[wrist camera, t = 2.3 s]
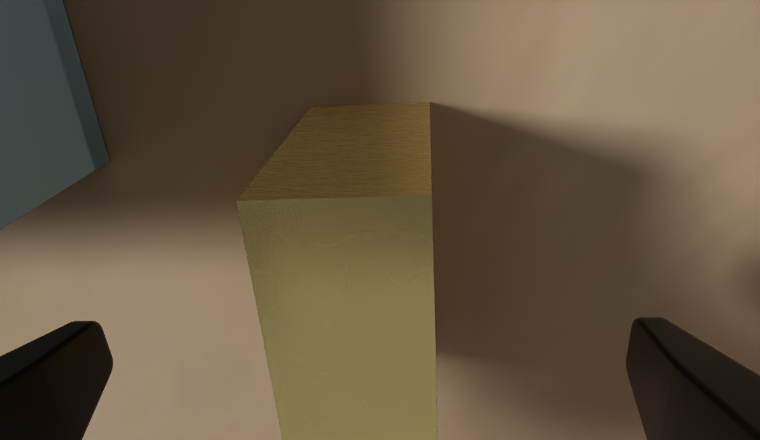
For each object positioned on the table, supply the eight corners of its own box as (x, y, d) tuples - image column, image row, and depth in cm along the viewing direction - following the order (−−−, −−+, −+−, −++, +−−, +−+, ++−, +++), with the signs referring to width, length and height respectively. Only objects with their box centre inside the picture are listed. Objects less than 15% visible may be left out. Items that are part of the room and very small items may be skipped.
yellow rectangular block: (435, 335, 14) (440, 518, 9) (338, 336, 14) (297, 513, 9) (429, 101, 11) (432, 194, 7) (311, 106, 11) (236, 201, 7)
